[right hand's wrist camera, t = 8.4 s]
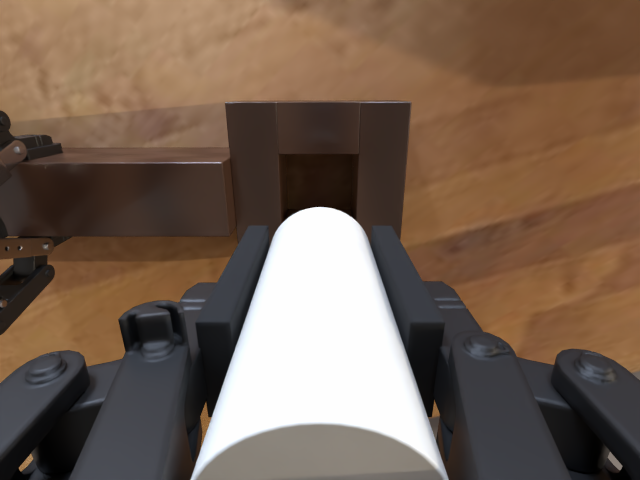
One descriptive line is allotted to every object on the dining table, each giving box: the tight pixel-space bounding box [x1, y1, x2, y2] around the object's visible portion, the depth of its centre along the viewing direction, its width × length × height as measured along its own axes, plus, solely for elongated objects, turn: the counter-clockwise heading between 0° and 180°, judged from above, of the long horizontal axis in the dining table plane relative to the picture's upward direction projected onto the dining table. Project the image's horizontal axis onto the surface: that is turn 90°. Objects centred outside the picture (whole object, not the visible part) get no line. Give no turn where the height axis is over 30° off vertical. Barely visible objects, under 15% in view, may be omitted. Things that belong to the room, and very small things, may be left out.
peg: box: [191, 207, 449, 480], centre depth 10 cm, size 4×4×10 cm
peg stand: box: [0, 101, 411, 246], centre depth 27 cm, size 32×12×7 cm, turn 90°
